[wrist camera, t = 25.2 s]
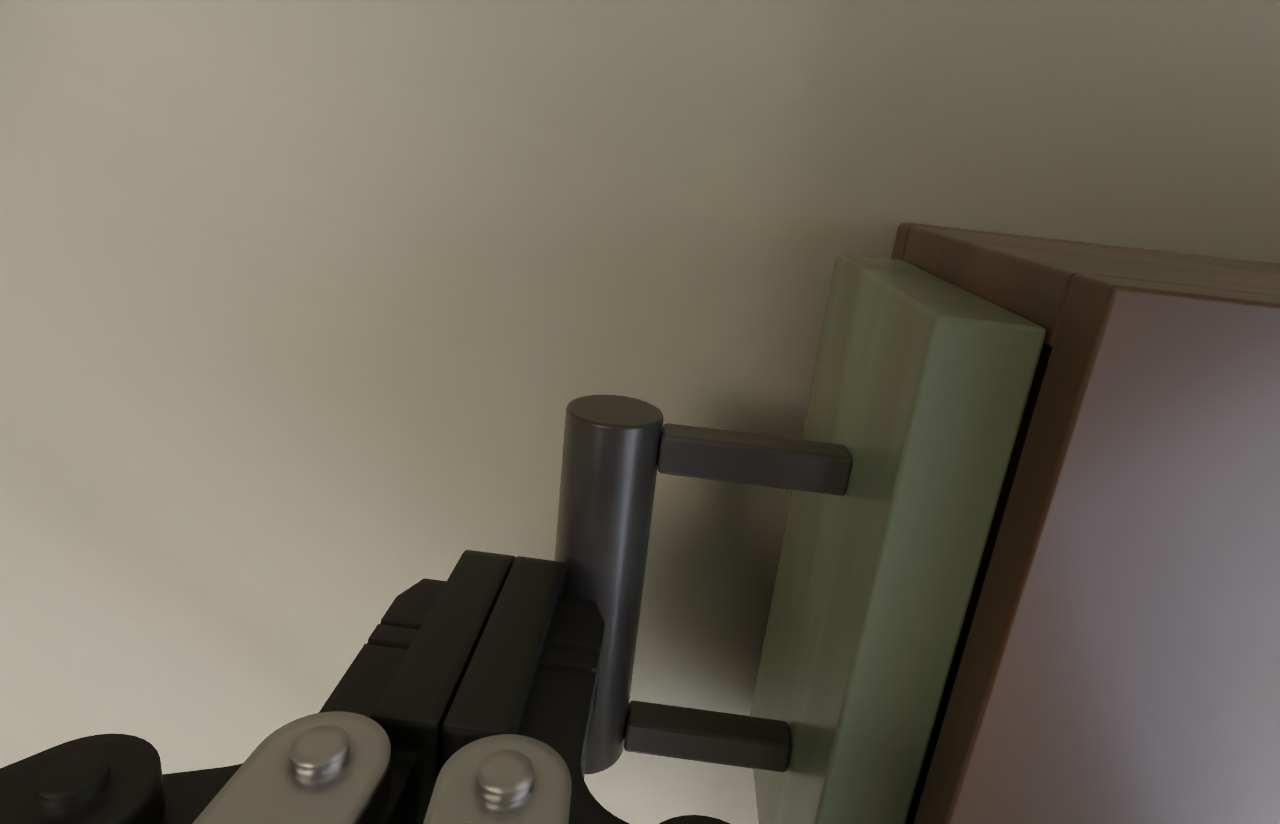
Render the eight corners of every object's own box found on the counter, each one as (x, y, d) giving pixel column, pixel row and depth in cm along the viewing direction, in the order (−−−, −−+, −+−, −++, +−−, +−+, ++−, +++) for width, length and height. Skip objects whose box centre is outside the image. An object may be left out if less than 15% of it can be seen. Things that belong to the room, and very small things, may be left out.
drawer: (567, 696, 17) (505, 955, 11) (608, 225, 13) (550, 270, 8) (1319, 798, 16) (1636, 1122, 11) (1559, 334, 13) (2199, 461, 7)
